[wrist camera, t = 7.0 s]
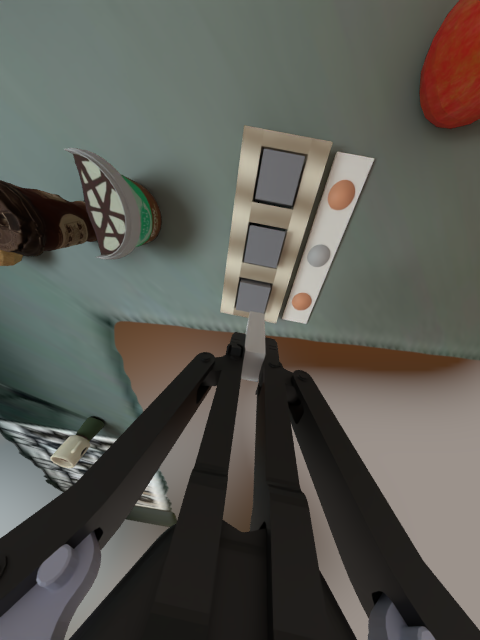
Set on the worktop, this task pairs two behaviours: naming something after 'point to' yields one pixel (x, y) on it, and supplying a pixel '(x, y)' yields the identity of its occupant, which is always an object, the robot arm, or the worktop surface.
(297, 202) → the button board
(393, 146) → the worktop surface
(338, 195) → the pattern card
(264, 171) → the button
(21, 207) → the coffee cup
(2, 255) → the potato
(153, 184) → the worktop surface
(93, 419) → the character mug
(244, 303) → the button
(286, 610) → the robot arm
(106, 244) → the food container
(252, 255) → the middle button
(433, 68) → the apple
